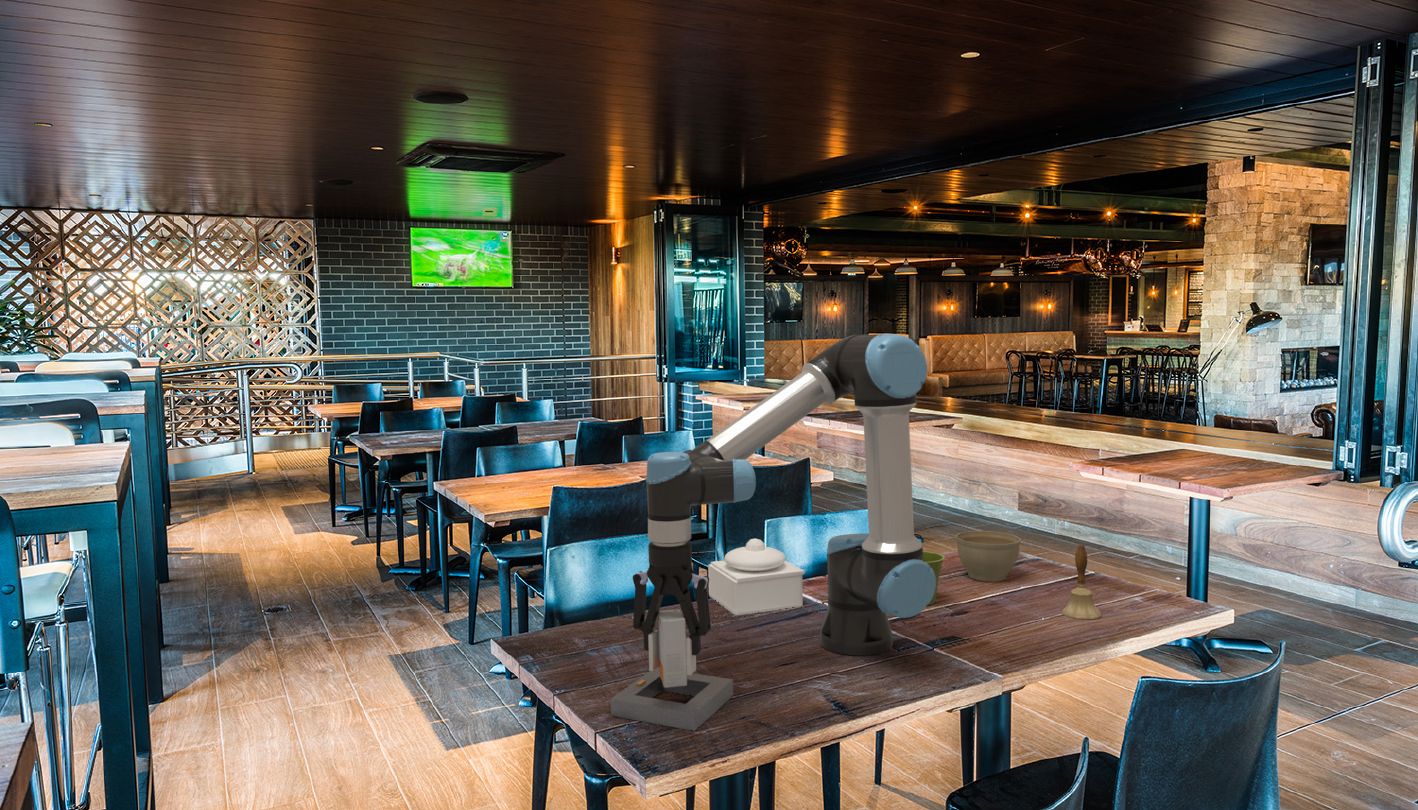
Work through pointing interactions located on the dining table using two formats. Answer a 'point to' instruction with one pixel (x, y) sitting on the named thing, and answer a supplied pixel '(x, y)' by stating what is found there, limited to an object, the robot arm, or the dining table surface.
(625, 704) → the collar
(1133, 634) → the dining table surface
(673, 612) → the skincare box
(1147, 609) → the dining table surface
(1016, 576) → the dining table surface
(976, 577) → the planter bowl
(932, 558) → the plant pot
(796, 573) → the butter dish
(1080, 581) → the hand bell
